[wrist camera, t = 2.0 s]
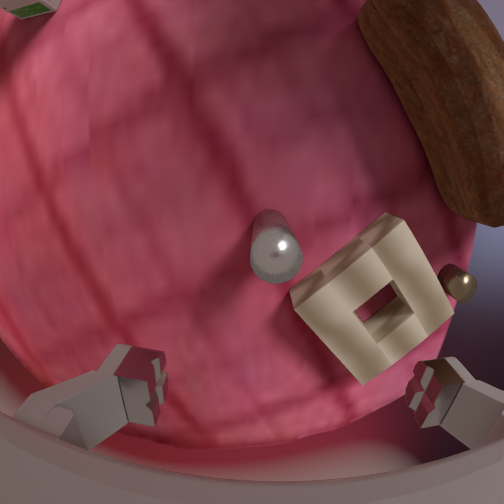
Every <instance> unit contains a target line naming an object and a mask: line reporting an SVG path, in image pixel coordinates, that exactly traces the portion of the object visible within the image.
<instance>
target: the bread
mask: <svg viewBox="0 0 504 504" xmlns="http://www.w3.org/2000/svg"><path fill="white" fill-rule="evenodd" d="M357 20H358V24H359V27H360V30H361V32H362V35H363V37H364V39H365V41H366V43H367V44H368V46H369V48H370V49H371V51H372V52H373V54H374V55H375V57H376V59H377V60H378V62H379V63H380V65H381V66H382V68H383V69H384V71H385V73H386V74H387V76H388V78H389V80H390V81H391V83H392V85H393V87H394V89H395V91H396V93H397V95H398V96H399V98H400V100H401V103H402V105H403V107H404V109H405V111H406V114H407V116H408V118H409V120H410V121H411V123H412V125H413V127H414V129H415V131H416V133H417V135H418V137H419V139H420V141H421V144H422V146H423V148H424V150H425V153H426V155H427V158H428V160H429V163H430V166H431V169H432V172H433V175H434V178H435V182H436V185H437V187H438V189H439V192H440V194H441V196H442V198H443V200H444V202H445V204H446V206H447V207H448V208H449V209H450V210H451V211H452V212H454V213H455V214H457V215H458V216H460V217H462V218H464V219H466V220H469V221H474V222H478V223H481V224H484V225H487V226H491V227H494V228H495V227H499V226H503V225H504V42H503V40H502V38H501V36H500V35H499V33H498V31H497V29H496V28H495V26H494V24H493V23H492V21H491V20H490V18H489V17H488V15H487V13H486V12H485V11H484V9H483V8H482V6H481V5H480V4H479V2H478V1H477V0H367V1H366V3H365V4H364V5H363V7H362V8H361V10H360V11H359V13H358V16H357Z"/></svg>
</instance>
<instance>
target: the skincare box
mask: <svg viewBox="0 0 504 504" xmlns="http://www.w3.org/2000/svg"><path fill="white" fill-rule="evenodd" d="M61 1H62V0H0V8H1V9H3V10H5V11H7V12H9V13H11V14H12V15H14V16H16V17H18V18H20V19H26V18H30V17H34V16H38V15H42V14H46V13H51V12H56V11H57V9H58V7H59V5H60V3H61Z"/></svg>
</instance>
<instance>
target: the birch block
mask: <svg viewBox="0 0 504 504" xmlns="http://www.w3.org/2000/svg"><path fill="white" fill-rule="evenodd" d="M388 283H389V284H390V285H391V287H392V288H393V290H394V291H395V293H396V294H397V296H396V297H395V298H394V299H393V300H391V301H390V302H389V303H388V304H387V305H385V306H384V307H383V308H382V309H380V310H379V311H378V312H377V313H375V314H374V315H373V316H372V317H370V318H369V319H368V320H366V321H365V322H364V323H363V321H362V320H361V319H360V318H359V316H358V315H357V314H356V312H355V311H354V310H356V309H357V308H358V307H359V306H361V305H362V304H363V303H365V302H366V301H367V300H368V299H370V298H371V297H372V296H373V295H375V294H376V293H377V292H378V291H379V290H381V289H382V288H383V287H384V286H385V285H387V284H388ZM289 291H290V296H291V300H292V304H293V308H294V310H295V311H296V312H297V314H298V315H299V316H300V317H301V318H302V319H303V320H304V321H305V322H306V324H307V325H308V326H309V327H310V328H311V329H312V330H313V331H314V332H315V333H316V335H317V336H318V337H319V338H320V339H321V340H322V341H323V342H324V343H325V345H326V346H327V347H328V348H329V349H330V350H331V351H332V352H333V353H334V354H335V356H336V357H337V358H338V359H339V360H340V361H341V362H342V363H343V364H344V365H345V367H346V368H347V369H348V370H349V371H350V372H351V373H352V374H353V375H354V376H355V377H356V379H357V380H358V381H359V382H360V383H361V384H362V385H364V384H366V383H367V382H369V381H370V380H372V379H373V378H375V377H376V376H377V375H379V374H380V373H382V372H383V371H384V370H386V369H387V368H389V367H390V366H391V365H393V364H394V363H395V362H397V361H398V360H399V359H400V358H402V357H403V356H404V355H406V354H407V353H408V352H409V351H411V350H412V349H413V348H414V347H416V346H417V345H418V344H419V343H421V342H422V341H423V340H424V339H425V338H427V337H428V336H429V335H430V334H431V333H432V332H434V331H435V330H436V329H437V328H438V327H439V326H441V325H442V324H443V323H444V322H445V321H446V320H447V319H448V318H449V317H450V316H452V315H453V314H454V311H453V309H452V307H451V305H450V303H449V301H448V298H447V296H446V294H445V292H444V290H443V288H442V286H441V284H440V282H439V280H438V279H437V277H436V275H435V273H434V271H433V269H432V267H431V265H430V263H429V262H428V260H427V258H426V256H425V254H424V253H423V251H422V249H421V247H420V246H419V244H418V242H417V240H416V239H415V237H414V235H413V234H412V232H411V230H410V229H409V227H408V225H407V224H406V222H405V221H404V220H403V219H401V218H398V217H396V216H393V215H391V214H388V213H386V212H384V213H383V214H382V215H381V216H380V217H379V218H377V219H376V220H375V221H374V222H373V223H372V224H370V225H369V226H368V227H367V228H366V229H364V230H363V231H362V232H361V233H360V234H358V235H357V236H356V237H355V238H354V239H352V240H351V241H350V242H349V243H348V244H346V245H345V246H344V247H343V248H341V249H340V250H339V251H338V252H337V253H335V254H334V255H333V256H332V257H330V258H329V259H328V260H327V261H325V262H324V263H323V264H322V265H320V266H319V267H318V268H317V269H315V270H314V271H313V272H312V273H310V274H309V275H308V276H307V277H305V278H304V279H303V280H302V281H300V282H299V283H298V284H296V285H295V286H294V287H293V288H291V289H290V290H289Z"/></svg>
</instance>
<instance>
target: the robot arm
mask: <svg viewBox="0 0 504 504" xmlns="http://www.w3.org/2000/svg"><path fill="white" fill-rule="evenodd" d="M165 365H166V356H165V353H164V351H158V350H152V349H147V348H141V347H136V346H131V345H125V344H116V346H115V347H114V348H113V350H112V351H111V352H110V354H109V355H108V356H107V358H106V359H105V360H104V362H103V363H102V365H101V366H100V367H99V369H98V370H97V371H93V370H92V371H90V372H87V373H85V374H82V375H80V376H77V377H75V378H72V379H69V380H67V381H64V382H62V383H59V384H56V385H54V386H51V387H49V388H46V389H43V390H41V391H38V392H35V393H32V394H31V395H30V396H29V397H28V398H27V399H26V401H25V402H24V403H23V404H22V405H21V407H20V408H19V409H18V410H17V411H16V413H15V414H14V415H13V416H12V417H10V416H8V415H6V414H5V413H2V412H1V411H0V504H504V392H503V391H501V390H499V389H497V388H495V387H493V386H490V385H488V384H486V383H484V382H481V381H479V380H478V381H476V380H475V379H474V378H473V377H472V376H471V374H470V373H469V372H468V371H467V370H466V369H465V368H464V366H463V365H462V364H461V363H460V362H459V361H458V360H457V359H456V358H454V357H448V358H441V359H434V360H424V361H418V362H417V364H416V365H415V367H414V370H413V373H414V377H413V378H412V379H411V380H410V381H409V382H408V385H407V387H406V393H405V398H406V402H407V404H408V406H409V407H411V408H412V409H413V410H415V413H414V417H415V419H416V420H417V422H418V424H419V426H420V428H424V427H430V426H436V425H440V426H441V427H442V428H444V429H445V430H446V431H448V432H449V433H450V434H452V435H453V436H454V437H456V438H457V439H458V440H460V441H461V442H462V443H464V444H465V445H466V446H468V447H469V448H470V449H471V450H468V451H465V452H463V453H459V454H456V455H453V456H450V457H447V458H444V459H440V460H436V461H433V462H429V463H425V464H421V465H417V466H413V467H408V468H404V469H399V470H394V471H389V472H383V473H378V474H371V475H365V476H357V477H349V478H340V479H328V480H312V481H250V480H233V479H223V478H212V477H204V476H197V475H189V474H184V473H178V472H172V471H167V470H161V469H157V468H152V467H147V466H143V465H139V464H135V463H131V462H127V461H123V460H120V459H116V458H112V457H109V456H106V455H103V454H99V453H96V452H93V451H90V449H91V448H93V447H94V446H96V445H97V444H99V443H100V442H102V441H103V440H105V439H106V438H108V437H109V436H110V435H112V434H113V433H114V432H116V431H118V430H119V429H120V428H122V427H123V426H125V425H126V424H127V423H128V422H133V423H138V424H143V425H148V426H154V427H155V425H156V422H157V420H158V417H159V414H160V406H159V405H160V404H162V403H163V402H164V401H165V398H166V394H167V388H168V377H167V373H166V372H165V371H164V370H163V369H164V367H165Z"/></svg>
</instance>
